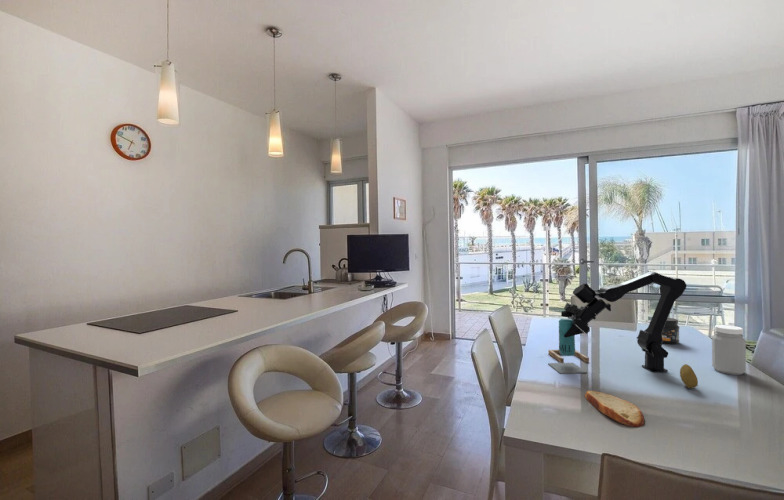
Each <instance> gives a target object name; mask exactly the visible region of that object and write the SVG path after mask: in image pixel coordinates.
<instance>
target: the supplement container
mask: <svg viewBox="0 0 784 500" xmlns="http://www.w3.org/2000/svg"><path fill="white" fill-rule="evenodd" d="M662 339H663V342H662V344H664V345H677V344H679V343H680V326H679V319H677V318H672V317H668V319H667V321H666V323H665V326H664V328H663V331H662Z"/></svg>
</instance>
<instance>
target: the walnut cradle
mask: <svg viewBox="0 0 784 500" xmlns="http://www.w3.org/2000/svg"><path fill="white" fill-rule="evenodd" d="M547 350H548V355H549V356H551V358H554V359H555V360H556V361H557V362H558V363H565V362H564V360H565V359H564V357H562V356H563V355H562V354H560V352H559V349H547ZM561 355H562V356H561ZM574 356H576V357H577V358H579V359H580V360H582V361H583V362H584V363H590V358H589V357H588V356H586V355H584V353H583V354H582V353H581V352H580V351H578V350H576V349H575V355H574Z"/></svg>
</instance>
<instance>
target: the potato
mask: <svg viewBox="0 0 784 500" xmlns="http://www.w3.org/2000/svg"><path fill="white" fill-rule="evenodd" d="M679 377H680V379H681V381H682V383H683V384H684V385H685V386H686V387H687V388H688V389H694V388H696V387H697V386H698V384H699V383H698V382H699V381H698V376H697V374H696V373H695V371H694V370H693V368H692V367H691V366H690V365H689V364H683V365H682V366H681V367H680V370H679Z"/></svg>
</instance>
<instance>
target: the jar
mask: <svg viewBox="0 0 784 500" xmlns="http://www.w3.org/2000/svg"><path fill="white" fill-rule="evenodd" d="M713 328H714V331H715V332H714V335H712V337H711V347H712V348H711V364H712V365H711V366H712V368H714V370H715V371H716V372H719V373H723V374H727V375H734V376H740V375H741V376H742V375H743V374H744V373H745V372H747V371H746V369H747V367H746V366H747V365H746V364H747V363H746V360H747V359H746V357H747V354H746V353H747V349H746V348H747V346H746V345H747V342H746V340H745V339H744V335H743V334H744V328H743V327H740V326H736V325H730V324H729V325H728V324H716V325H714V327H713Z"/></svg>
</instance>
